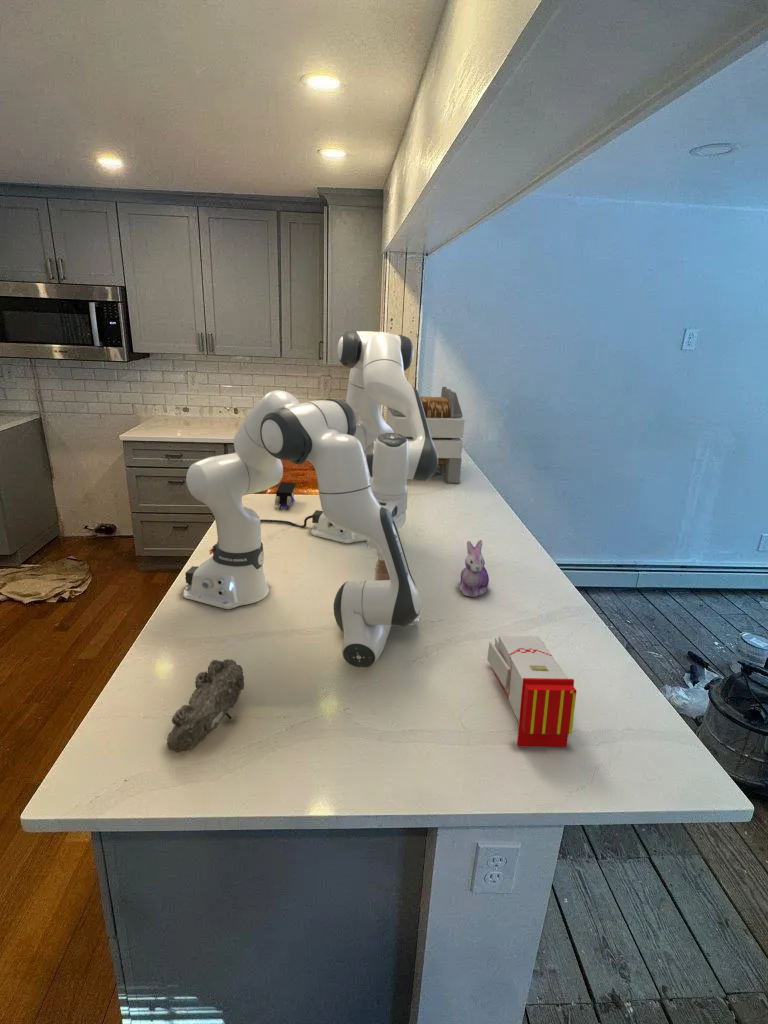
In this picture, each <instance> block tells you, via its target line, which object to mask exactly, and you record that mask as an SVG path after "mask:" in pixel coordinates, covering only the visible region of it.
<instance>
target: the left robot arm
mask: <svg viewBox="0 0 768 1024" xmlns="http://www.w3.org/2000/svg"><path fill="white" fill-rule="evenodd" d="M357 422H358V421H357V417H356V414H355V413H354V411H353V410H352V408H351V407H350V406H349V405H348V404H347V403H346V401H344V400H341V399H337V398H336V399H335V398H324V399H321V400H319V399H318V400H309V401H305V402H300V401H299V399H297V398H296V397H295V396H294V395H293V394H292V393H290V392H288V391H285V390H280V389H279V390H278V389H277V390H271V391H269V392H268V393H266V394H265V395H264V396H263V397H262V398H261V399H259V401H258V402H256V404H255V405H254V406H253V408H252V409H250V411H249V412H248V414H247V416H246V417H245V418H244V420H243V422H242V424H241V425H240V426H239V428H238V430H237V432H236V433H235V434H234V437H233V448H234V452H232V453H226V454H220V455H214V456H209V457H205V458H203V459H202V460H199V461H195V462H194V463H192V464H190V466H189V467H188V470H187V472H186V478H185V482H186V483H185V484H186V487H187V489H188V492H189V493H190V495H191V496H192V497H193V498H194V499H195V500H197V501H198V502H201V503H202V504H204V505H205V506H206V507H207V508H208V509H209V510H210V511H211V513H212V516H214V517H213V518H214V521H215V526H216V533H217V534H216V535H217V540H216V541H217V542H216V543H215V544H214V545H212V548H210V549H209V550H208V552H209V555H212V556H211V557H210V558H208V559H207V560H205V561H204V562H202V563H201V564H200V565H198V566H194V565H192V566H191V567H190V568H189V569H187V571H186V572H185V574H184V575H185V583H186V584H187V585H186V586H185V587H184V590H183V595H182V596H183V598H185V599H187V600H191V601H195V602H198V603H202V604H206V605H210V606H214V607H218V608H221V609H224V610H232V609H236V607H240V606H245V605H246V606H247V605H251V604H255V603H257V602H259V601H261V600H264V599H265V598H266V597H267V596H268V595H269V592H270V587H269V586H268V583H267V580H266V575H265V571H264V560H265V553H264V544H263V542H262V525H261V524H262V522H261V521H260V520H261V518H260V515H258V512H256V511H255V510H254V509H252V508H251V507H250V508H249V507H247V506H244V505H243V501H242V500H243V499H242V498H243V496H247V495H251V494H256V493H260V492H264V491H267V490H268V489H271V488H272V487H275V486H277V485H278V484H280V483H281V482H282V478H283V475H284V466H283V462H282V461H288V462H291V463H292V464H294V465H295V464H296V465H298V466H301V465H303V464H304V463H305V462H306V461H308V462H310V464H311V465H312V466H313V468H314V471H315V474H316V481H317V490H318V496H319V502H320V507H321V511H323V513H324V515H325V517H326V518H327V519H328V520H329V521H330V522H331V523H332V524H334V525H335V526H337V527H338V528H340V529H343V530H345V531H348V532H352V533H355V534H358V535H361V536H364V537H366V538H368V539H370V540H372V541H374V542H375V543H376V544H377V545H378V546H379V547H380V549H381V551H382V554H383V557H384V560H385V564H386V567H387V570H388V573H389V576H390V580H376V581H375V580H366V579H365V580H351V581H350V580H349V581H345V582H344V583H343V584H342V585H341V586H340V587H339V589H338V590H337V592H336V594H335V597H334V601H333V615H334V619H335V622H336V624H337V626H338V628H339V629H340V631H341V632H342V633H343V642H342V646H341V647H342V648H341V653H342V657H343V659H344V661H345V662H346V663H347V664H349V665H350V666H352V667H355V668H370V667H372V666H373V665H375V663H376V662H377V661H378V660H379V658H380V657H381V655H382V653H383V651H384V649H385V646H386V643H387V638H388V637H389V634H390V632H391V628H392V626H395V627H411V626H414V625H418V623H419V621H420V615H421V607H422V603H421V596H420V594H419V591H418V589H417V585H416V583H415V580H414V578H413V576H412V572H411V570H410V566H409V563H408V560H407V556H406V554H405V550H404V547H403V543H402V540H401V537H400V534H399V531H397V528H396V525H395V522H394V519H393V517H392V515H391V513H390V512H389V510H388V509H386V508H384V507H382V506H381V505H380V504H379V503H378V501H377V500H376V498H375V496H374V494H373V491H372V487H371V479H370V473H369V468H368V464H367V460H366V456H365V453H364V450H363V447H362V445H361V443H360V441H359V440H358V439H357V438H356V437H354V434H355V432H356V427H357Z"/></svg>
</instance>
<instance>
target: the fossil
mask: <svg viewBox="0 0 768 1024" xmlns="http://www.w3.org/2000/svg"><path fill="white" fill-rule="evenodd" d="M243 670H244V669H243V667H242V665H240V664H237V662H236V661H235V660H234V659H232V658H231V659H227V658H226V659H224V660H223V661H222V660H217V659H212V660H211V661H210V663H209V665H208V666H207V671H201V672H199V673H198V674H197V675H196V676H195V680H194V684H195V685H194V687H195V689H194V690H193V693H192V694H191V697H190V698H189V700H188V704H184V705H182V706H181V707H180V709H177V710H176V711H175V713H174V715H173V716H172V718H171V723H172V724H173V727H172V730H171V731H170V732H168V734H167V738H166V741H167V742H166V745H167V749H168V750H169V751H173V752H174V753H176V754H178V753H182V752H188V751H189V752H192V751H193V750H195V748H196V747H197V746H199V744H200V743H201V742H203V741H204V740H205V739H206V738H207V737H208V736H209V735H210V734H211V733H212V732H214V730H215V729H217V727H218V726H219V724H220V722H221V721H222V720H223V719H224V718H225V716H226V717H227V719H229V720H233V717H232V715H230V714H229V710H230V709H231V708H234V706H235V704H236V703H237V702H238V699H239V697H240V695H241V693H242V691H243V690H245V689H244V688H245V675H244V671H243Z"/></svg>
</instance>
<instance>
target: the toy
mask: <svg viewBox="0 0 768 1024" xmlns="http://www.w3.org/2000/svg"><path fill="white" fill-rule="evenodd" d="M488 643H489V644H488V651H487V658H486V659H487V662H488V664H489V666H490V668H491V669H492V672H493V674H494V675H495V677H496V679H497V681H498V682H499V684H500V687H501V688H502V691H503V692H504V694H505V697H507V699H508V702H509V705H510V706H511V709H512V710H513V713H514V714H515V717H516V720H517V721H518V728H517V729H518V730H517V741H516V746H517V747H520V748H521V747H522V748H523V747H525V748H527V747H529V748H531V747H532V748H533V747H534V748H545V747H546V748H567V747H568V740H569V735H572V733H573V725H574V716H575V708H576V700H577V689H576V687H575V686H574V685H575V679H574V678H569V677H568V676H567V675H566V673H565V672H564V670H563V669H562V668H561V667H560V665H559V663H558V662H557V661H556V659H555V658H554V656H553V654H552V653H551V652H550V650H549V649H548V648H547V646H546V644H545V642H544V641H543V640H542V639H541V638H540V636H534V635H533V636H532V635H530V636H527V635H526V636H525V635H524V636H523V635H498V637H497V636H496V637H494V643H493V641H489V642H488Z"/></svg>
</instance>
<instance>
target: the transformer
mask: <svg viewBox="0 0 768 1024" xmlns="http://www.w3.org/2000/svg"><path fill="white" fill-rule="evenodd" d="M440 393H441V394H440V396H420V399H421V402H422V405H423V409H424V412H425V416H426V420H427V424H428V427H429V431H430V435H431V438H432V441H433V443H434V446H435V449H436V452H437V456H438V467H437V470H438V469H439V473H440V474H441V475H443V478H444V479H445V481H446V482H447V483H449V484H455V483H456V484H459V483H461V472H462V461H463V460H462V453H463V442H464V441H463V440H462V439H463V438H464V431H465V430H464V429H465V419H464V418H463V411H462V408H461V405H460V402H459V398H458V395H457V392H455V391H453V390H452V389H451V388H447V386H442V387H441V392H440ZM385 414H386V415H385V422H386V423H387V424H388V425H389V426H390V427H391V428H392V430H393V433H397V434H401V435H403V436H405V437H406V438H407V440H408V441H414V439H413V435H412V431H411V427H410V423H409V420H408V418H407V417H406V416H405V415H404V414H402V413H401V412H399V411H397V410H394V409H392V408H389V407H386V413H385Z"/></svg>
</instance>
